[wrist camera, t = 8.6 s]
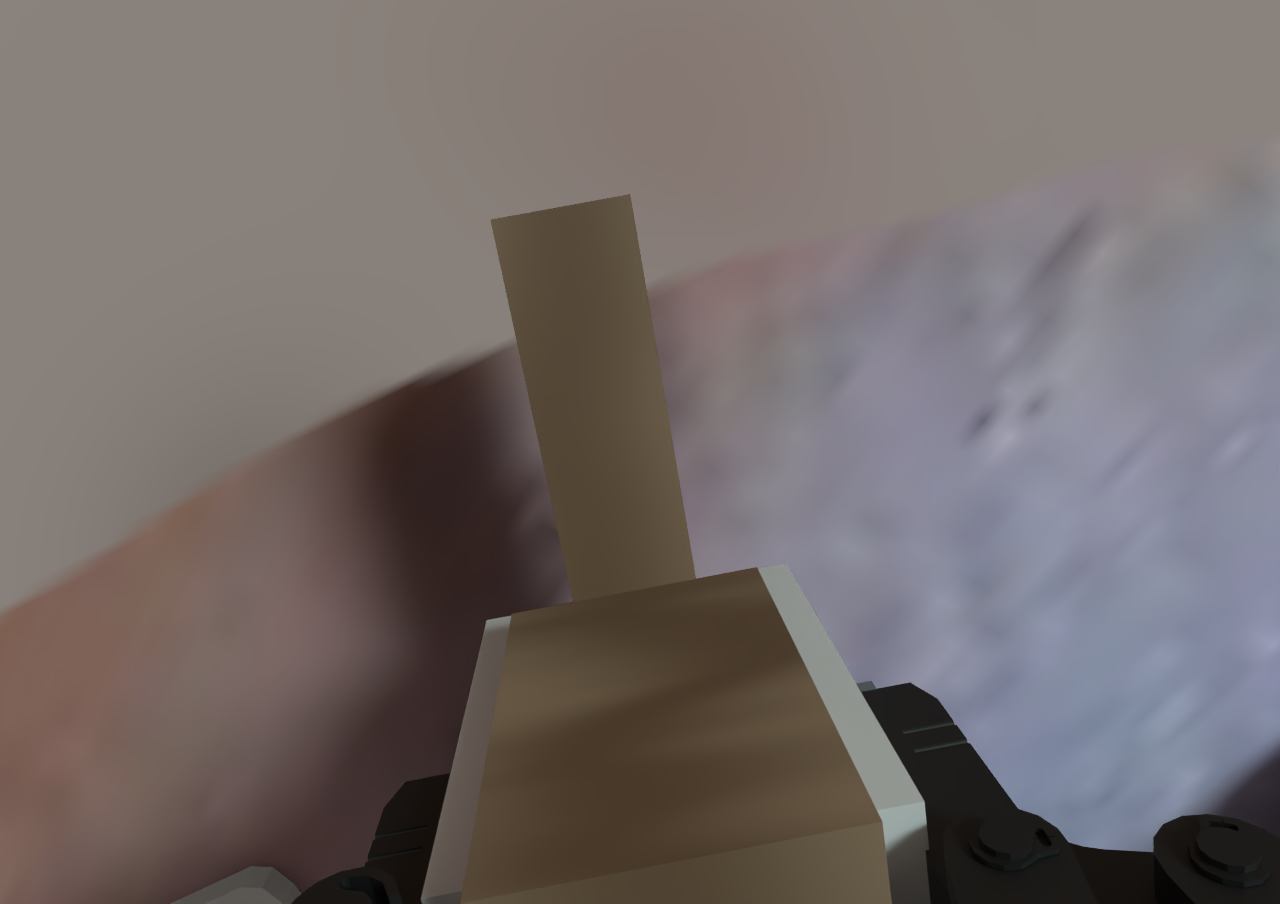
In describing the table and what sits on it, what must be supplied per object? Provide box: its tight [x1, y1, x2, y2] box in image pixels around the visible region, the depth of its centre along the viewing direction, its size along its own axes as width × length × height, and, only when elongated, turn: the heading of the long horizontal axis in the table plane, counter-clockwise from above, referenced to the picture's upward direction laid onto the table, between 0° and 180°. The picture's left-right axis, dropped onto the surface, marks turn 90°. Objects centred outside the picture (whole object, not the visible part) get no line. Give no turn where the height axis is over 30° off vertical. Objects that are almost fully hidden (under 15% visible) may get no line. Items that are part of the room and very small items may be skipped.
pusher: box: [460, 194, 892, 904], centre depth 13 cm, size 4×16×9 cm, turn 10°
